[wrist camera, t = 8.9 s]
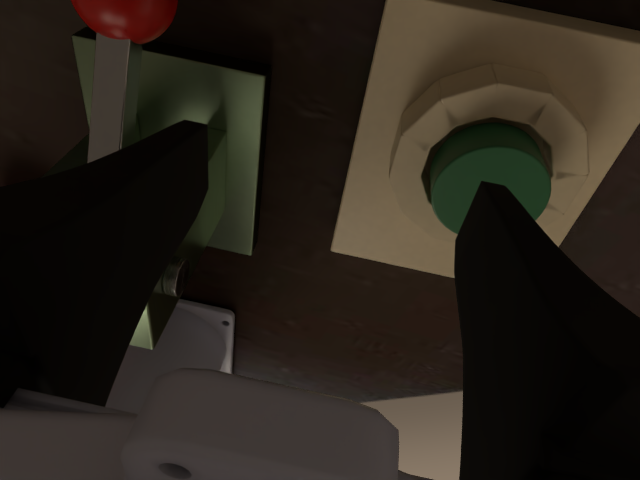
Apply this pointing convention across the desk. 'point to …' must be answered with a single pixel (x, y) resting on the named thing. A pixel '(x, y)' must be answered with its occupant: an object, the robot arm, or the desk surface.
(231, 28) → the desk surface
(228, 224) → the switch bracket
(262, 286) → the desk surface
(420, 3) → the switch plate
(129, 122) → the switch lever
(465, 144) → the button
